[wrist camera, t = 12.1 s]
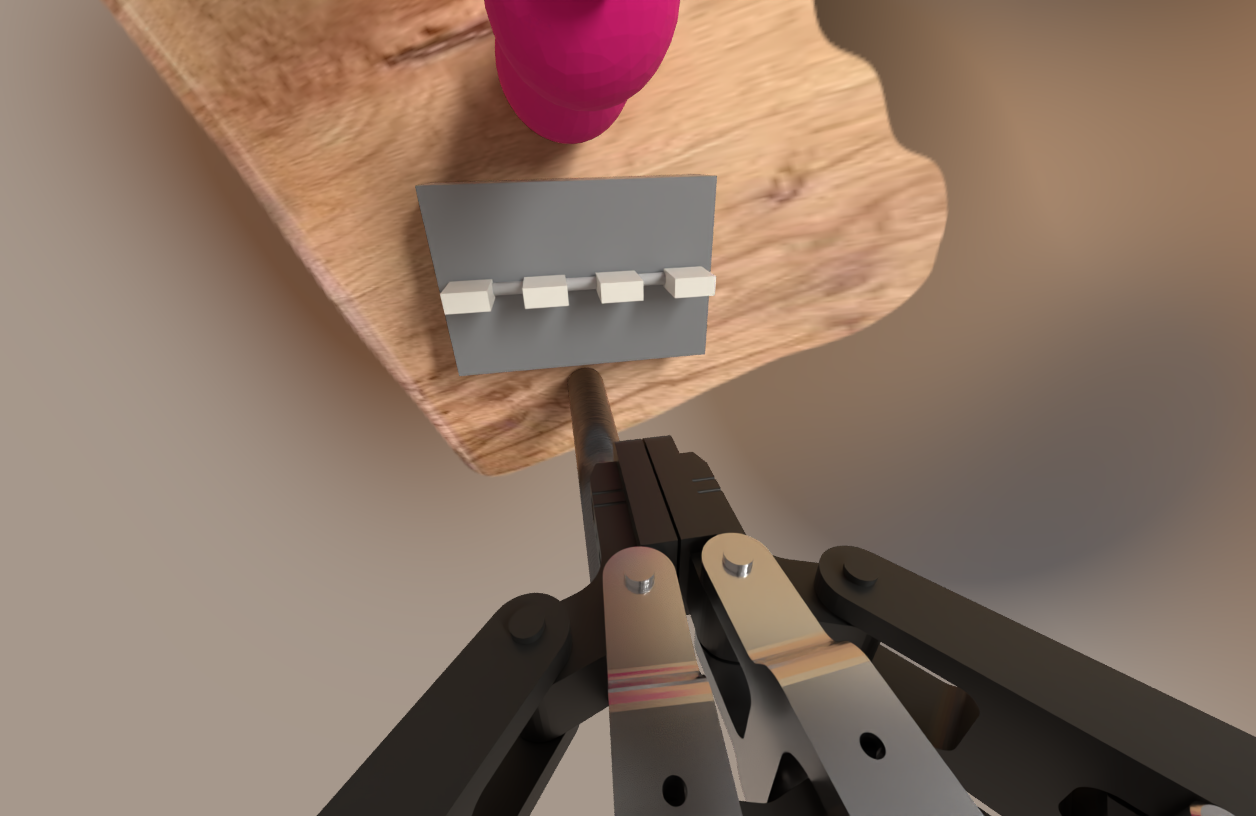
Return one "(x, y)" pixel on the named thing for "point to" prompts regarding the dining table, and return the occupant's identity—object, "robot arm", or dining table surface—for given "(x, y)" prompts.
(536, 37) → the pepper mill
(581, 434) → the black cord post
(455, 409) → the dining table surface
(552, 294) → the breaker paddles
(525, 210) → the breaker panel
